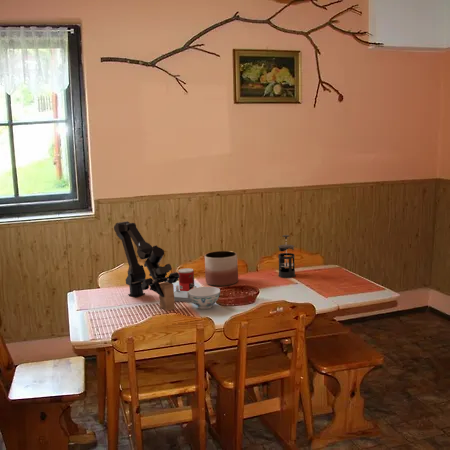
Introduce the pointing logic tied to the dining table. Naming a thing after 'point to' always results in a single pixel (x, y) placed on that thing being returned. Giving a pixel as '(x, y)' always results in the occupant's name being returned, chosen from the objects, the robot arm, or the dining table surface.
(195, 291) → the chinaware
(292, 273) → the french press
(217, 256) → the planter
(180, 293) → the peg seat
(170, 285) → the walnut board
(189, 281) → the canned food
